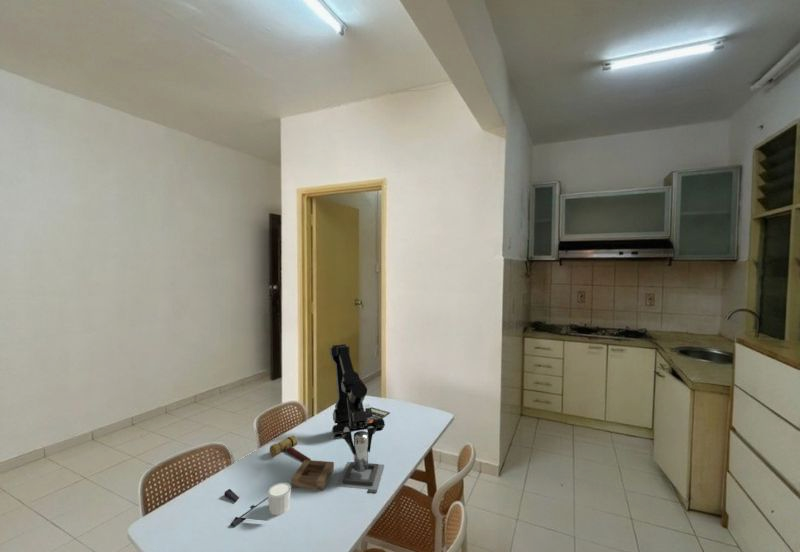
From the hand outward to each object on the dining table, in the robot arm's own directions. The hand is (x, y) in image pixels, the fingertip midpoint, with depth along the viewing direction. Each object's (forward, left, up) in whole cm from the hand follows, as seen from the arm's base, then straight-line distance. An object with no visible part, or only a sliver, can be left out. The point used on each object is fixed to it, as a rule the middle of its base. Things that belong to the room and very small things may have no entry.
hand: (361, 453), depth 121 cm
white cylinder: (+18, -21, -10) cm, 30 cm away
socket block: (+3, -16, -10) cm, 19 cm away
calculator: (-48, -6, -10) cm, 50 cm away
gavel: (-10, -28, -10) cm, 32 cm away
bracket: (+16, -36, -10) cm, 40 cm away
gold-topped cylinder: (-1, -1, -6) cm, 6 cm away
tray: (-1, 0, -10) cm, 10 cm away
